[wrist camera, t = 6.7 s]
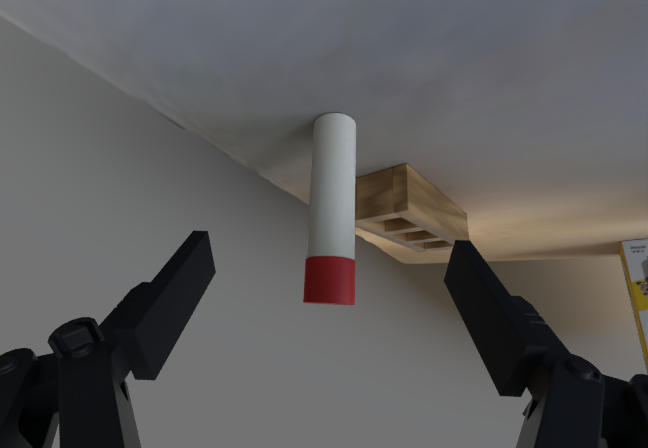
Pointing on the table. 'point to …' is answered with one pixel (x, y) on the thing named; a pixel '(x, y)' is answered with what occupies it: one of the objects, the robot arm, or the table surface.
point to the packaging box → (637, 285)
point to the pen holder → (408, 210)
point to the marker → (332, 213)
